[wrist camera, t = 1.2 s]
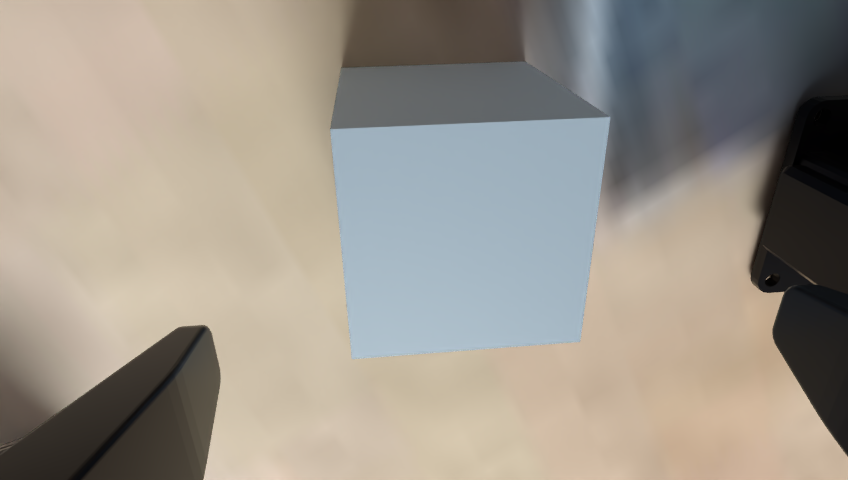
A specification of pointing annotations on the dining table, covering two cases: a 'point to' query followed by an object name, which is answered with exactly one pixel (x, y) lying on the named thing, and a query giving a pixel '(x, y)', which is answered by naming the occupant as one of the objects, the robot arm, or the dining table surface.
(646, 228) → the dining table surface
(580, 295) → the slate block
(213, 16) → the dining table surface
